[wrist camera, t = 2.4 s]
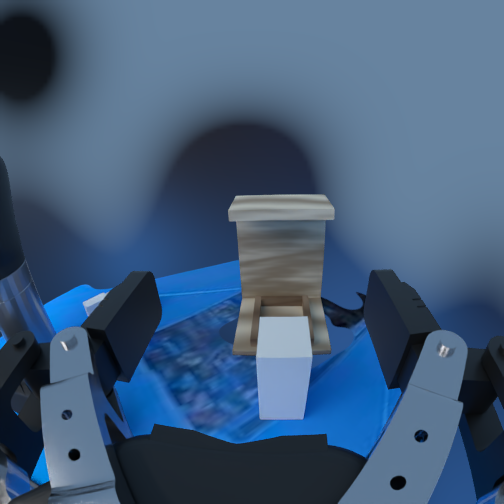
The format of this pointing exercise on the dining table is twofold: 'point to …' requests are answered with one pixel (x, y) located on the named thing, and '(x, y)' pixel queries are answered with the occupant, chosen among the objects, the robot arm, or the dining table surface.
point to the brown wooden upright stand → (281, 264)
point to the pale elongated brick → (283, 367)
